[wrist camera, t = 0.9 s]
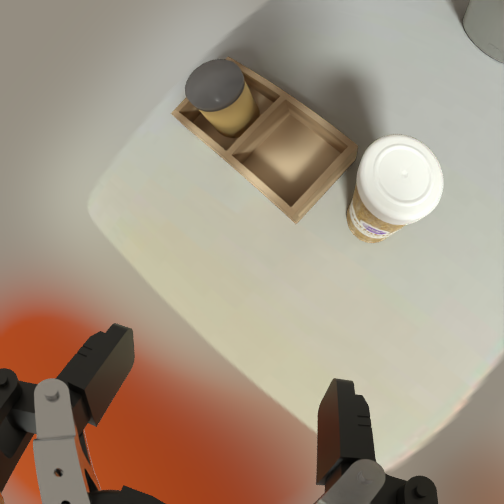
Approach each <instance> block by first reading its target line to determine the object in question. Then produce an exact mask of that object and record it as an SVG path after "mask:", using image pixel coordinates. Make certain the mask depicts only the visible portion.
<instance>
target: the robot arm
mask: <svg viewBox="0 0 504 504" xmlns="http://www.w3.org/2000/svg"><path fill="white" fill-rule="evenodd" d="M463 26H464V29H465V31H466V33H467V34H468V36H469V38H470V39H471V40H472V41H473V42H474V44H475V45H477V46H478V47H479V48H480V49H481V50H482V51H483V52H484V53H486V54H487V55H489V56H490V57H492V58H493V59H495V60H497V61H499V62H502V63H504V0H470V2H469V5H468V7H467V10H466V12H465V15H464V17H463ZM133 363H134V342H133V331H132V329H131V328H128V327H125V326H122V325H119V324H116V323H114V324H113V325H112V326H111V327H110V328H109V329H108V331H107V332H106V333H103V332H101V331H100V332H98V333H96V334H94V335H93V336H91V337H90V338H89V339H88V340H87V341H86V342H85V343H84V345H83V347H81V348H80V349H79V351H78V352H77V354H75V356H74V357H73V358H72V359H71V360H70V362H69V363H68V364H67V365H66V367H65V368H64V369H63V370H62V372H61V373H60V374H59V375H58V376H57V378H56V379H46V380H44V381H42V382H40V383H39V384H32V383H27V382H23V381H19V380H18V378H17V376H16V374H15V373H14V372H13V371H12V370H10V369H5V368H3V369H0V504H5V502H4V498H3V496H2V494H1V492H2V491H3V489H4V487H5V485H6V483H7V481H8V479H9V477H10V476H11V474H12V472H13V470H14V468H15V466H16V465H17V463H18V461H19V459H20V458H21V456H22V454H23V452H24V451H25V449H26V447H27V445H28V444H29V442H30V440H31V438H32V437H33V435H34V433H35V434H37V439H34V440H33V450H34V458H35V465H36V472H37V478H38V484H39V489H40V494H41V499H42V504H165V503H163V502H161V501H160V500H158V499H156V498H155V497H153V496H151V495H148V494H145V493H142V492H140V491H137V490H134V489H132V488H129V487H127V486H123V488H122V490H121V491H119V490H101V488H100V485H99V482H98V480H97V477H96V475H95V472H94V469H93V466H92V462H91V458H90V454H89V450H88V445H87V441H86V437H85V432H84V428H85V426H86V425H87V423H90V424H92V425H94V426H96V427H97V425H98V423H99V422H100V420H101V418H102V417H103V415H104V413H105V412H106V410H107V408H108V406H109V405H110V403H111V402H112V400H113V398H114V397H115V395H116V393H117V392H118V390H119V388H120V387H121V385H122V383H123V381H124V380H125V378H126V377H127V375H128V373H129V372H130V370H131V368H132V366H133ZM317 439H318V440H317V444H318V445H317V476H316V485H325V493H324V494H323V495H322V496H321V497H320V498H319V499H318V500H317V501H316V502H315V503H314V504H438V499H437V490H436V487H435V485H434V483H433V482H432V481H431V480H430V479H429V478H427V477H424V476H415V477H412V478H411V479H410V480H408V481H405V480H402V479H398V478H395V477H392V476H389V475H387V474H385V472H384V470H383V468H382V467H381V466H380V465H379V464H378V463H377V462H376V459H375V451H374V443H373V434H372V428H371V419H370V412H369V406H368V404H367V402H366V401H365V399H364V397H363V396H362V395H355V390H354V383H353V381H349V380H342V379H336V378H334V379H333V380H332V382H331V384H330V386H329V388H328V390H327V392H326V393H325V395H324V397H323V399H322V401H321V403H320V406H319V410H318V438H317Z"/></svg>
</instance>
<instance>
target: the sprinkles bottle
mask: <svg viewBox="0 0 504 504" xmlns="http://www.w3.org/2000/svg"><path fill="white" fill-rule="evenodd" d="M443 184H444V181H443V173H442V169H441V166H440V164H439V161H438V159H437V158H436V156H435V155H434V153H433V152H432V151H431V150H430V149H429V148H428V147H427V146H426V145H425V144H424V143H422V142H421V141H419V140H417V139H415V138H413V137H410V136H407V135H401V134H392V135H387V136H384V137H381V138H379V139H377V140H376V141H374V142H373V143H372V144H371V145H370V146H369V147H368V148H367V149H366V151H365V152H364V154H363V156H362V159H361V162H360V165H359V168H358V172H357V183H356V186H355V190H354V194H353V198H352V201H351V203H350V205H349V207H348V210H347V222H348V226H349V228H350V230H351V231H352V233H353V234H354V235H355V236H356V237H357V238H359V239H360V240H362V241H365V242H369V243H375V242H379V241H382V240H384V239H386V238H387V237H388V236H390V235H392V234H393V233H395V232H397V231H398V230H400V229H401V228H402V227H403V226H405V225H407V224H411V223H414V222H416V221H418V220H420V219H422V218H423V217H425V216H426V215H428V214H429V213H430V212H431V211H432V210H433V209H434V208H435V207H436V205H437V204H438V202H439V200H440V198H441V195H442V192H443Z"/></svg>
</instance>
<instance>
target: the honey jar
mask: <svg viewBox="0 0 504 504" xmlns="http://www.w3.org/2000/svg"><path fill="white" fill-rule="evenodd" d="M185 93H186V97H187V99H188V100H189V101H190V102H191V104H192V105H193V106H194V107H195V108H197V109H198V110H199V111H200V112H201V113H202V114H203V115H204V116H205V118H206V119H207V120H208V121H209V122H210V123H211V124H212V126H213V127H214V128H215V129H216V130H217V131H218V132H219V133H220V134H221V135H223V136H225V137H229V138H238V137H240V136H241V135H242V134H243V133H244V132H245V131H246V130H247V129H248V128H249V127H250V126H251V125H252V124H253V123H254V122H255V121H256V120H257V119H258V118H259V117H260V111H259V108H258V106H257V104H256V102H255V100H254V98H253V96H252V94H251V92H250V90H249V88H248V86H247V84H246V82H245V79H244V75H243V73H242V71H241V69H240V68H239V66H238V65H237V64H235V63H234V62H232V61H229V60H225V59H217V60H212V61H209V62H206V63H204V64H202V65H201V66H199V67H198V68H197V69H195V70H194V71H193V72H192V74H191V75H190V76H189V78H188V80H187V82H186V86H185Z"/></svg>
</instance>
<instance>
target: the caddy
mask: <svg viewBox="0 0 504 504" xmlns="http://www.w3.org/2000/svg"><path fill="white" fill-rule="evenodd" d="M225 60H229V61H232V62H234V63H235V64H237V65H238V66H239V68H240V69H241V71H242V73H243V75H244V79H245V82H246V84H247V86H248V88H249V90H250V92H251V94H252V96H253V98H254V100H255V102H256V104H257V106H258V108H259V111H260V117H259V118H258V119H257V120H256V121H255V122H254V123H253V124H252V125H251V126H250V127H249V128H248V129H247V130H246V131H245V132H244V133H243V134H242V135H241V136H240V137H238V138H229V137H225V136H223V135H221V134H220V133H219V132H218V131H217V130H216V129H215V128H214V127H213V126H212V124H211V123H210V122H209V121H208V120H207V119H206V118H205V116H204V115H203V114H202V113H201V112H200V111H199V110H198V109H197V108H195V107H194V106H193V105H192V104H191V102H190V101H189V100H188V99H187V97H186V98H185V99H184V100H183V101H182V102H181V103H180V104H179V106H178V107H177V108H176V109H175V110H174V111H173V112H172V113H171V114H172V115H173V116H174V117H175V118H176V119H177V120H179V121H180V122H181V123H182V124H183V125H184V126H185V127H186V128H187V129H189V130H190V131H191V132H192V133H193V134H195V135H196V136H197V137H198V138H199V139H200V140H202V141H203V142H204V143H205V144H206V145H208V146H209V147H210V148H211V149H212V150H213V151H215V152H216V153H217V154H218V155H219V156H220V157H222V158H223V159H224V160H225V161H226V162H227V163H229V164H230V165H231V166H232V167H233V168H234V169H235V170H237V171H238V172H239V173H240V174H241V175H242V176H243V177H245V178H246V179H247V180H248V181H249V182H250V183H251V184H252V185H254V186H255V187H256V188H257V189H258V190H259V191H260V192H261V193H263V194H264V195H265V196H266V197H267V198H268V199H269V200H270V201H271V202H273V203H274V204H275V205H276V206H277V207H278V208H279V209H280V210H281V211H282V212H284V213H285V214H286V215H287V216H288V217H289V218H290V219H291V220H292V221H293V222H294V223H295V224H297V223H298V222H299V221H300V220H301V219H302V217H303V216H304V215H305V214H306V213H307V212H308V211H309V210H310V209H311V208H312V207H313V206H314V204H315V203H316V202H317V201H318V200H319V199H320V198H321V197H322V196H323V195H324V194H325V193H326V192H327V190H328V189H329V188H330V187H331V186H332V185H333V184H334V183H335V182H336V181H337V180H338V179H339V177H340V176H341V175H342V174H343V173H344V172H345V171H346V170H347V169H348V168H349V167H350V165H351V164H352V163H353V162H354V161H355V160H356V155H357V150H358V145H356V144H355V143H354V142H353V141H351V140H350V139H349V138H348V137H346V136H345V135H344V134H343V133H341V132H340V131H339V130H338V129H336V128H335V127H334V126H332V125H331V124H330V123H328V122H327V121H326V120H324V119H323V118H322V117H320V116H319V115H318V114H316V113H315V112H313V111H312V110H311V109H309V108H308V107H306V106H305V105H304V104H302V103H301V102H299V101H298V100H296V99H295V98H294V97H292V96H291V95H289V94H288V93H286V92H285V91H283V90H282V89H280V88H279V87H277V86H276V85H274V84H273V83H271V82H269V81H268V80H266V79H265V78H263V77H262V76H260V75H258V74H257V73H255V72H254V71H252V70H250V69H249V68H247V67H245V66H244V65H242V64H240V63H238V62H237V61H235V60H233V59H232V58H230V57H227V58H226V59H225Z"/></svg>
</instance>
